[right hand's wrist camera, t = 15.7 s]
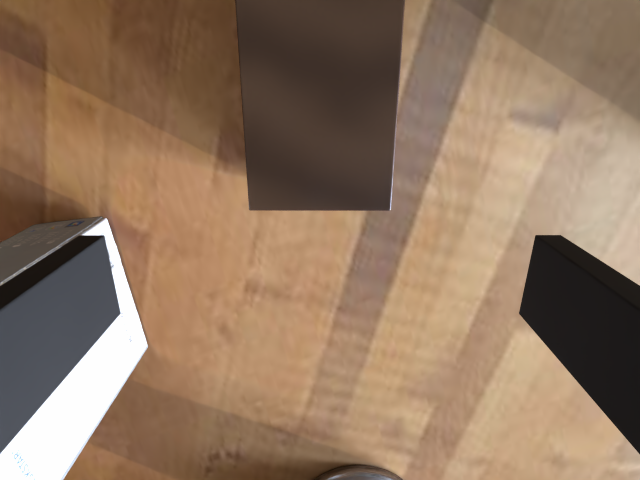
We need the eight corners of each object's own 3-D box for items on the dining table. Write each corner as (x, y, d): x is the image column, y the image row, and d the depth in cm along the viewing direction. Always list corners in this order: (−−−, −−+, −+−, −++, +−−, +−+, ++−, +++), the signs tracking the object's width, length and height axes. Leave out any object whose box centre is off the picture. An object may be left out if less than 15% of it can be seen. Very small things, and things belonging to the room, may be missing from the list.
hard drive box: (31, 223, 39) (-233, 352, 20) (108, 214, 39) (-89, 337, 20) (84, 355, 45) (-85, 550, 26) (151, 348, 44) (30, 541, 26)
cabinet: (251, -86, 30) (225, -150, 22) (389, -86, 30) (415, -149, 22) (264, 182, 38) (249, 210, 29) (375, 182, 38) (390, 210, 29)
